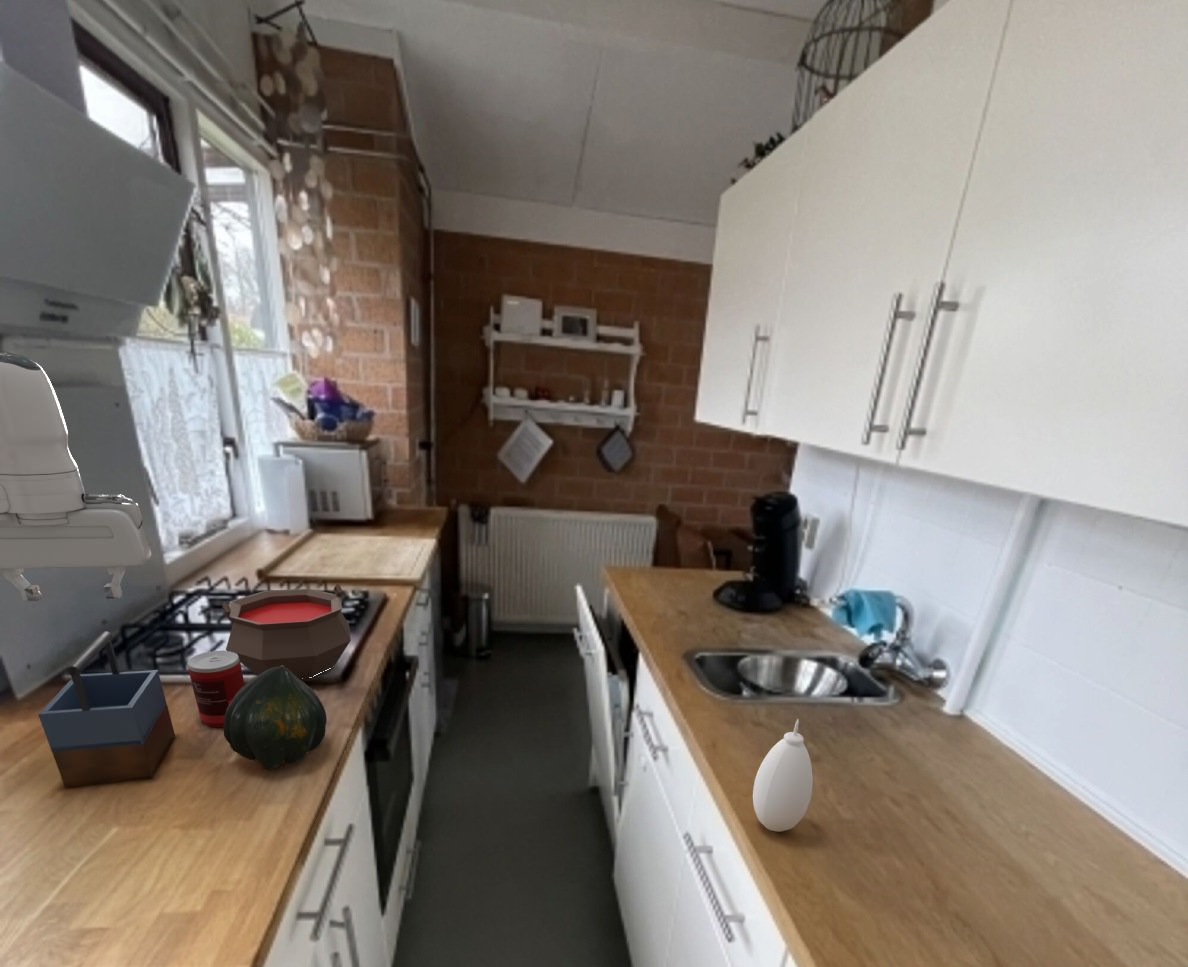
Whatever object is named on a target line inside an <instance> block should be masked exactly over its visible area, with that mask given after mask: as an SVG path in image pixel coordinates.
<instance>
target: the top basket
mask: <svg viewBox="0 0 1188 967" xmlns="http://www.w3.org/2000/svg"><path fill="white" fill-rule="evenodd" d="M112 638H113V635H112V633H111V632H109V631H102V632H101V633H100V634H99V635H98V636H97V637H96V638H95V639H94V640H93V641H92V642H91V643H90V644H89V645H88V646H87V647H86V648H85V649H84V650H83V651H82V652H81V653H80V655H78V656H77V657H76V658H75V659H74V660H73V662H71V664H69V665H68V666H67V668H66V673H67V674H68V675H70V677H71V679H70V680H69V681H68V682H67V683H66V684H65V685H63V687H62V688H61V689H60V691H59V692H57V694H56V695H55V696H54V697H53V698H52V699H51V700H50V701H49V702H48V703H47V704H46V705H45V706H44V707H43V709H42V710H40V712H39V713H38V714H37V716H38V718H39V720H40V723H41V727H42V729H43V732H44V735H45V737H46V740H47V743H48V746H49V748H50V751H51V753H52V752H57V751H69V750H81V749H93V748H105V747H117V746H128V745H140V744H143V742H144V741H145V739H146V737H147V736H148V734H149V732H150V731H151V729H152V727H153V726H154V724H155V722H156V721H157V719H158V717H159V716H160V714H161V712H162V711H163V709H164V707H165V706H166V704H167V705H168V703H167V700H166V696H165V692H164V688H163V684H162V680H161V677H160V673H159V670H158V669H155V670H153V669H151V670H136V671H121V670H120V667H119V663H118V660H117V656H116V653H115V650H114V645H113V643H112ZM103 648H104V650H105V654H106V657H107V660H108V664H109V666H110V669H111V672H99V673H81V672H82V671H83V670H84V669H85V668H86V667H87V666H88V664H89V663H90V662H91V661H92V660H93V659H94V658H95V657H96V656H97V655H98V654H100V651H102V650H103Z"/></svg>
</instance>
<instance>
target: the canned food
mask: <svg viewBox="0 0 1188 967" xmlns="http://www.w3.org/2000/svg"><path fill="white" fill-rule="evenodd" d="M187 669H188V674H189V678H190V682H191V686H192V690H193V694H194V699H195V703H196V706H197V712H198V715H199V719H200V721H201V722H202V723H203V724H204V725H205V726H207V727H211V728H212V727H213V728H224V718H225V714H226V710H227V708H228V706H229V704H230V703H231V701H232V700H233V698H234V697H235V695H236V694H237V692H238V691H239V690H240V689H241V688H242V687H243V686H245V685H246V684H245V680H244V675H243V670H242V663H241V662H240V660H239V657H238V655H237V654H236V653H234V652H230V651H226V650H211V651H206V652H201V653H199V654H197V655H196V654H195V655H194V656H192V657H191V658H189V660H188V661H187Z"/></svg>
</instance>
